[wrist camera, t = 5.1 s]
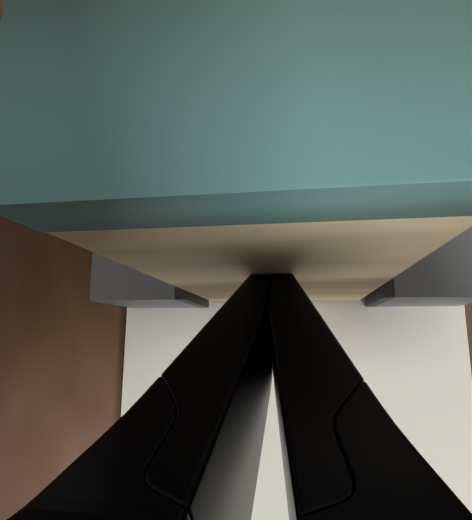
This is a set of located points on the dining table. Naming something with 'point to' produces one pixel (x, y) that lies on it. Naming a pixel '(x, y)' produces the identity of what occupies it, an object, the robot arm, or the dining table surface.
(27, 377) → the dining table surface
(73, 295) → the dining table surface
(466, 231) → the block holder base
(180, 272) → the peg
